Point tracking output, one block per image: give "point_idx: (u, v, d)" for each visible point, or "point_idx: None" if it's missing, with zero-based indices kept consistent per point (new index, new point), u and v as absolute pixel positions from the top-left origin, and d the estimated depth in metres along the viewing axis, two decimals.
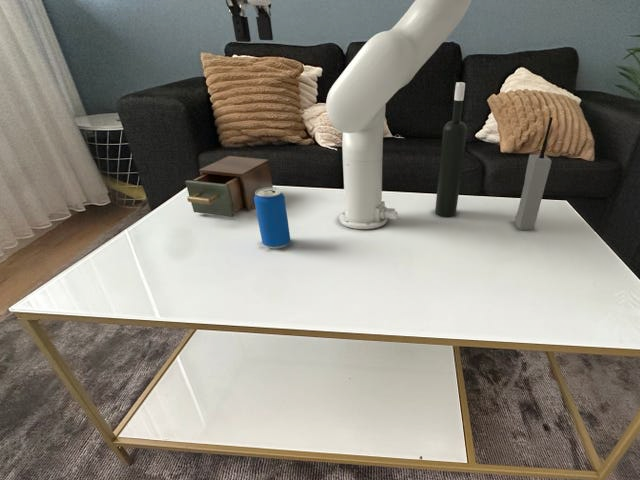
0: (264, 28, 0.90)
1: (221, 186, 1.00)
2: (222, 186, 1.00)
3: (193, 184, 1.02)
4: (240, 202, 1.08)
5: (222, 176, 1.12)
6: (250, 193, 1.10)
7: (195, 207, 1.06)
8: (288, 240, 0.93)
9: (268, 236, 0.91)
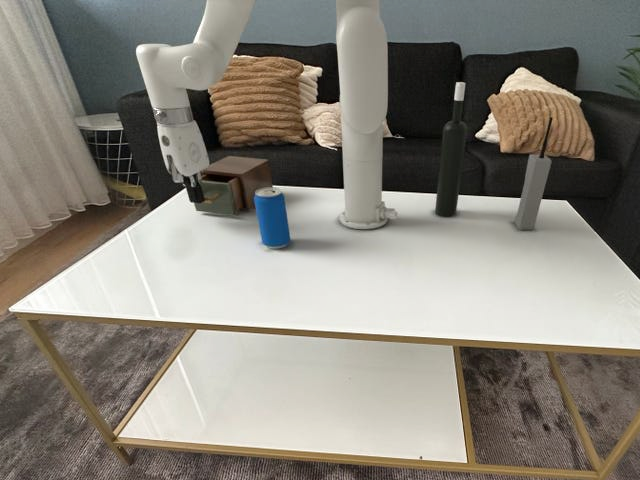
0: None
1: (223, 185, 1.01)
2: (224, 185, 1.01)
3: None
4: (242, 201, 1.09)
5: (224, 175, 1.13)
6: (250, 193, 1.10)
7: (197, 206, 1.07)
8: (288, 240, 0.93)
9: (268, 236, 0.91)
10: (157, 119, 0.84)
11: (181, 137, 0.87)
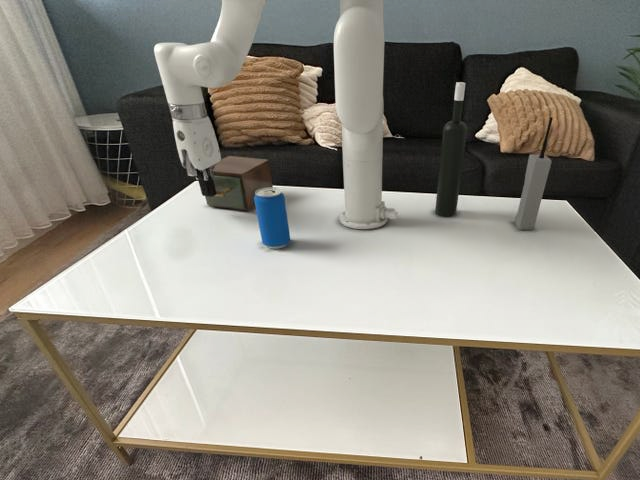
0: None
1: (234, 179, 1.04)
2: (235, 179, 1.04)
3: None
4: None
5: None
6: (250, 193, 1.10)
7: (208, 200, 1.10)
8: (288, 240, 0.93)
9: (268, 236, 0.91)
10: (173, 115, 0.87)
11: (196, 132, 0.91)
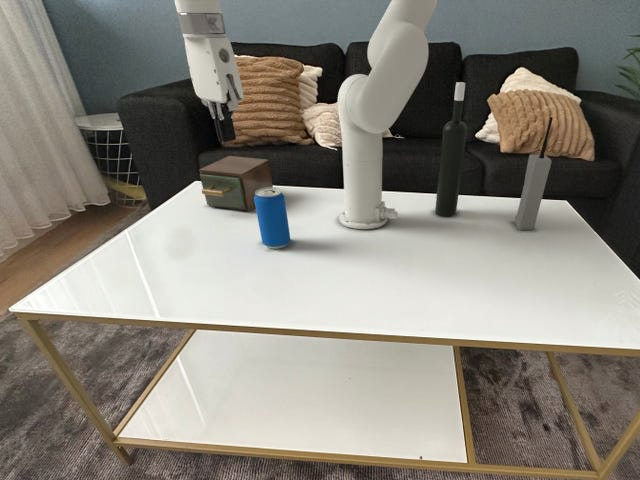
0: None
1: (234, 179, 1.04)
2: (235, 179, 1.04)
3: (207, 177, 1.06)
4: None
5: None
6: (250, 193, 1.10)
7: (208, 200, 1.10)
8: (288, 240, 0.93)
9: (268, 236, 0.91)
10: (219, 26, 0.70)
11: None
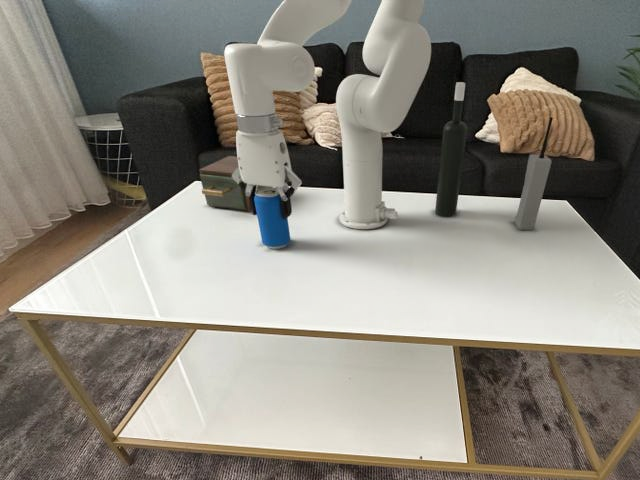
0: None
1: None
2: None
3: (207, 177, 1.06)
4: None
5: None
6: None
7: (208, 200, 1.10)
8: (288, 240, 0.93)
9: (268, 236, 0.91)
10: (281, 124, 0.78)
11: None
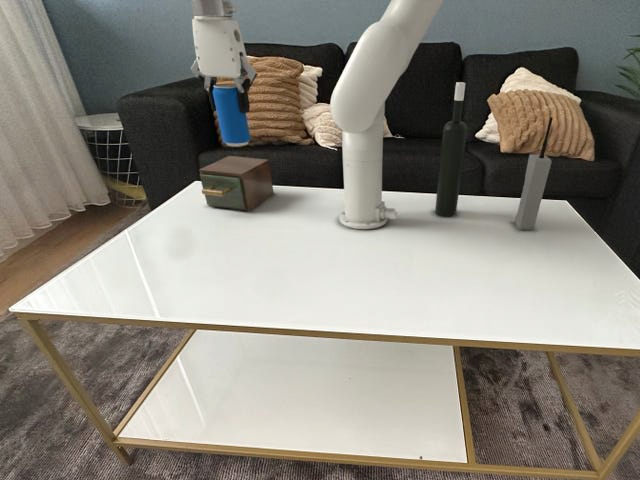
0: None
1: (234, 179, 1.04)
2: (235, 179, 1.04)
3: (207, 177, 1.06)
4: None
5: None
6: (250, 193, 1.10)
7: (208, 200, 1.10)
8: (248, 138, 0.98)
9: (227, 131, 0.95)
10: (234, 10, 0.82)
11: None
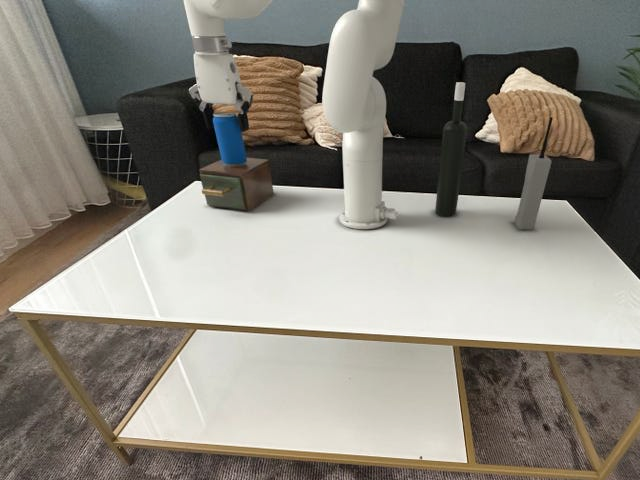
0: (211, 119, 1.05)
1: (234, 179, 1.04)
2: (235, 179, 1.04)
3: (207, 177, 1.06)
4: None
5: None
6: (250, 193, 1.10)
7: (208, 200, 1.10)
8: (244, 160, 1.09)
9: (226, 154, 1.06)
10: (230, 46, 0.93)
11: None
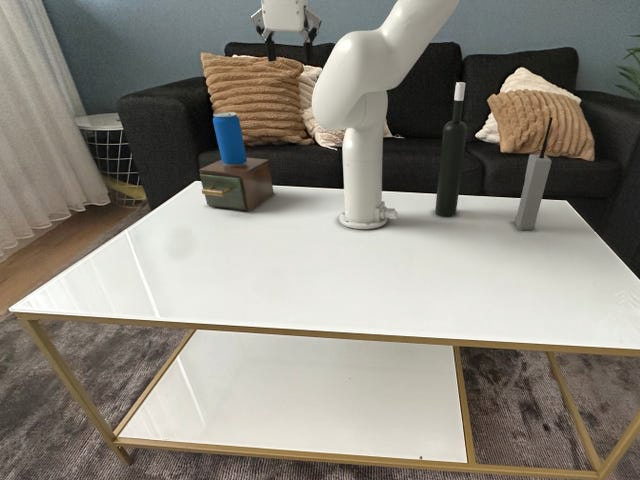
0: (273, 51, 0.99)
1: (234, 179, 1.04)
2: (235, 179, 1.04)
3: (207, 177, 1.06)
4: None
5: None
6: (250, 193, 1.10)
7: (208, 200, 1.10)
8: (244, 160, 1.09)
9: (226, 154, 1.06)
10: None
11: None
